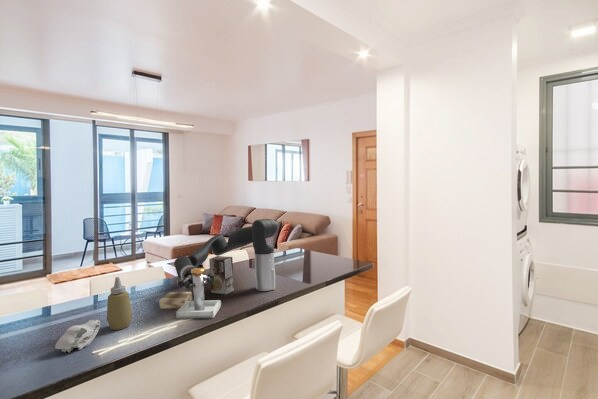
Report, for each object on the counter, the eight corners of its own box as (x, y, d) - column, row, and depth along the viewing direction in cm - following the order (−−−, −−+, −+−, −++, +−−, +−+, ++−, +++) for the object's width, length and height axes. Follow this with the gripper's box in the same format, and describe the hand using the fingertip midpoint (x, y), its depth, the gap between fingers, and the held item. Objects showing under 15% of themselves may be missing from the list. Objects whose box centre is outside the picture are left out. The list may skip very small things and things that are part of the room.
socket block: (192, 299, 145) (191, 291, 145) (184, 307, 135) (183, 299, 135) (169, 300, 145) (169, 292, 145) (159, 308, 135) (159, 300, 135)
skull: (47, 345, 100) (76, 308, 108) (71, 357, 106) (97, 321, 113) (58, 349, 96) (88, 311, 104) (83, 362, 101) (110, 325, 109)
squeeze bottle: (137, 323, 121) (135, 275, 120) (119, 333, 113) (116, 281, 112) (120, 321, 124) (118, 273, 123) (101, 330, 116) (98, 279, 115)
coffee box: (234, 290, 156) (233, 256, 155) (226, 294, 150) (224, 259, 150) (218, 288, 160) (217, 255, 159) (210, 292, 154) (208, 258, 153)
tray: (221, 306, 136) (220, 300, 136) (213, 317, 124) (213, 311, 124) (187, 306, 136) (187, 301, 136) (176, 318, 124) (176, 312, 124)
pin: (207, 307, 133) (206, 267, 132) (204, 312, 128) (202, 270, 127) (195, 307, 133) (193, 268, 132) (190, 312, 128) (188, 271, 127)
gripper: (207, 281, 146) (218, 290, 132) (173, 286, 139) (180, 297, 125) (207, 264, 145) (217, 272, 131) (172, 269, 138) (180, 278, 124)
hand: (199, 284), depth 128 cm, fingers open, 8 cm apart
